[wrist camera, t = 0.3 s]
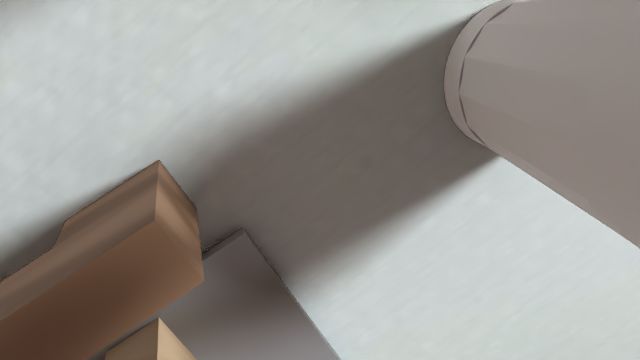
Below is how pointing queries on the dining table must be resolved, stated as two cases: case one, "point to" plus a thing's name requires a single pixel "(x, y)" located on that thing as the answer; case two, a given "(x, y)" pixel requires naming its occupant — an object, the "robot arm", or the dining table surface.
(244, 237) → the slotted stand
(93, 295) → the brown rectangular block
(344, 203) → the dining table surface
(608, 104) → the cup
